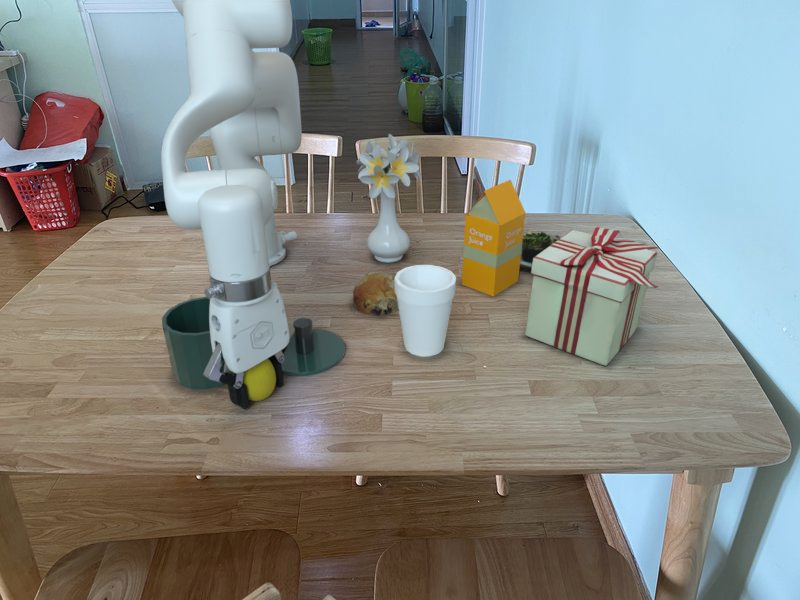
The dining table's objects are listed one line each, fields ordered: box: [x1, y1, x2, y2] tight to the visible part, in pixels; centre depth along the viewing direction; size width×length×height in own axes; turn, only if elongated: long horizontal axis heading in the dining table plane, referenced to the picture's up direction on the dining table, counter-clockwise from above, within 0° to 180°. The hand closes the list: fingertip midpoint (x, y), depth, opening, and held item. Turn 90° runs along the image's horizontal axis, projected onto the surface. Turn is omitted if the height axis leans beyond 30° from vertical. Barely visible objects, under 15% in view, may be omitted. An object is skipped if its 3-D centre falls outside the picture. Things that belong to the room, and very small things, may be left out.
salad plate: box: [519, 230, 564, 273], centre depth 130 cm, size 19×18×5 cm
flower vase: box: [355, 133, 422, 264], centre depth 123 cm, size 13×18×25 cm
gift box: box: [524, 226, 660, 367], centre depth 98 cm, size 17×18×17 cm
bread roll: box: [352, 271, 399, 316], centre depth 111 cm, size 10×10×8 cm
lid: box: [281, 317, 346, 377], centre depth 96 cm, size 13×13×6 cm
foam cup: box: [394, 264, 457, 358], centre depth 96 cm, size 10×9×13 cm
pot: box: [161, 296, 234, 390], centre depth 91 cm, size 11×11×10 cm
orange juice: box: [461, 179, 526, 297], centre depth 114 cm, size 8×9×20 cm
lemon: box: [243, 358, 276, 402], centre depth 85 cm, size 6×6×8 cm
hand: (258, 392), depth 87 cm, fingers closed on lemon, 5 cm apart
